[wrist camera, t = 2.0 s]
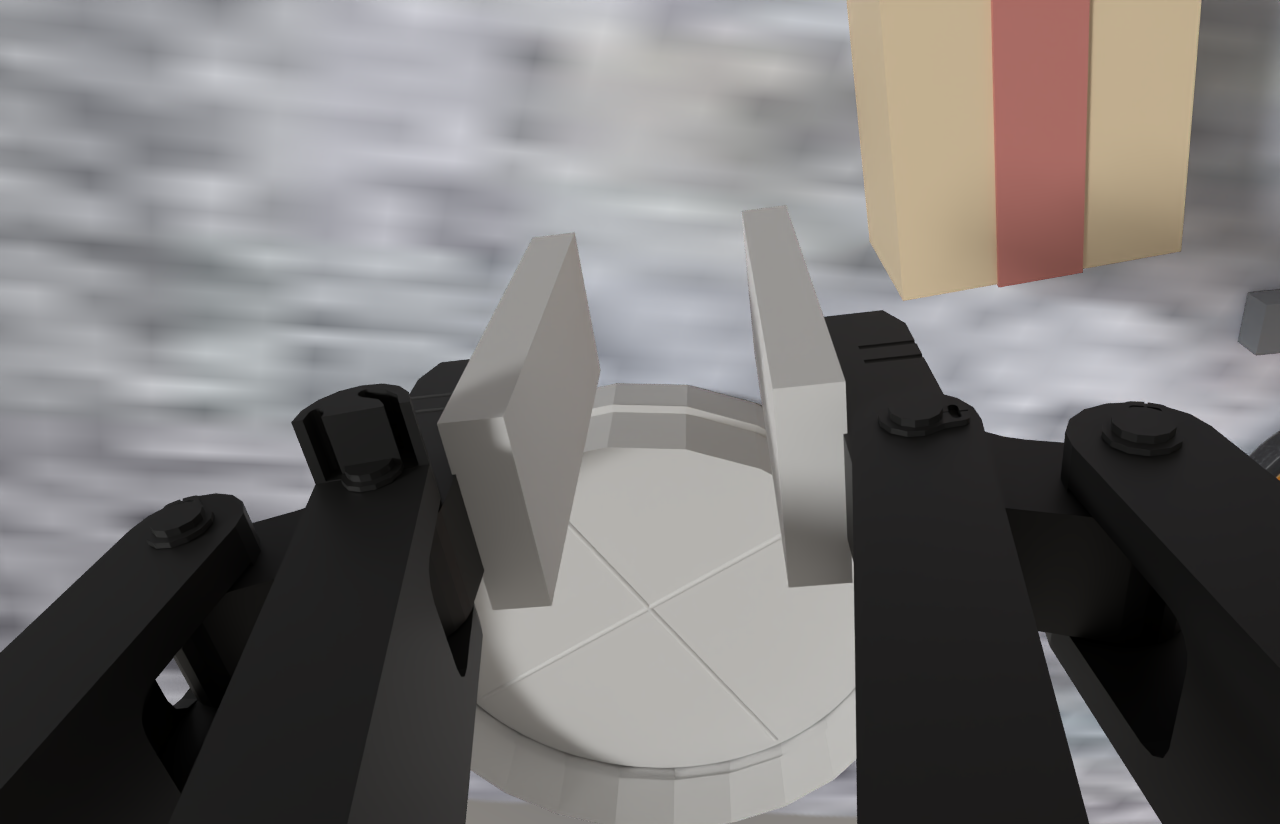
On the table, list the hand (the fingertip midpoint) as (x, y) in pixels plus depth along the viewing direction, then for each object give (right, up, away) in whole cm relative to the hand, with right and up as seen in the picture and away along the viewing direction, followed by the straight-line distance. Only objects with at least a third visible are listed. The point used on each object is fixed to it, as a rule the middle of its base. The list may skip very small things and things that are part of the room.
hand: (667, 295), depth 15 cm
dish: (0, -10, +25) cm, 27 cm away
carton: (+11, +9, +13) cm, 20 cm away
